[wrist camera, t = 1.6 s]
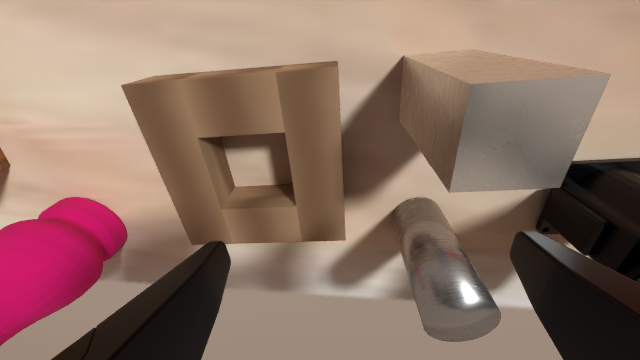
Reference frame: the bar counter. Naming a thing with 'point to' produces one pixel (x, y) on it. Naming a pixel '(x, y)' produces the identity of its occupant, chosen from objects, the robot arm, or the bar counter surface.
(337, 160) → the bore block
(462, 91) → the square bit
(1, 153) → the tray
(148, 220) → the bar counter surface
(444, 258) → the round bit
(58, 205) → the pepper mill
